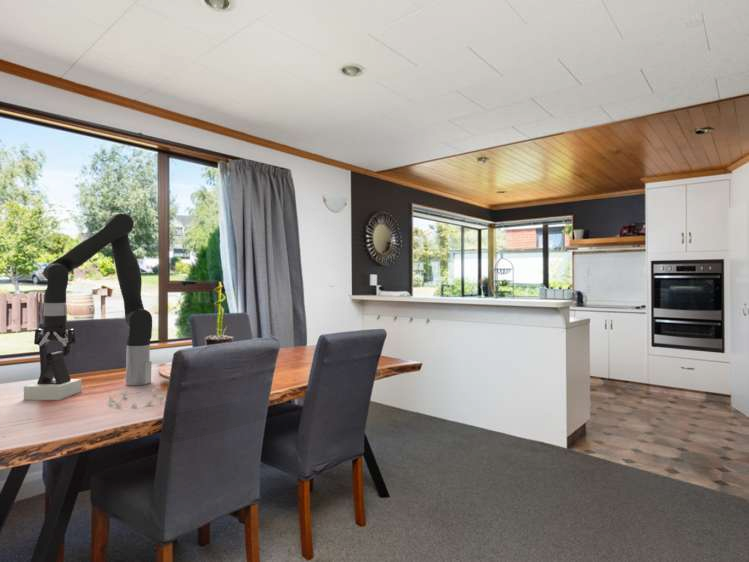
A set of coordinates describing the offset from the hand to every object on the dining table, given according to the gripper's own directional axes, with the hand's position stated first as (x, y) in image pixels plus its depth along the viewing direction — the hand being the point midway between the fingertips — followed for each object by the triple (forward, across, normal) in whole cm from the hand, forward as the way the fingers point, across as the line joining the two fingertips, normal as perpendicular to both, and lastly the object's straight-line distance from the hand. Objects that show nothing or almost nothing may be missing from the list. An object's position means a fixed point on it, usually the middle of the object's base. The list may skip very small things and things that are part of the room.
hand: (54, 355), depth 179 cm
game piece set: (+16, -36, +8) cm, 40 cm away
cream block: (+16, 0, 0) cm, 16 cm away
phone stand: (+11, 0, 0) cm, 11 cm away
